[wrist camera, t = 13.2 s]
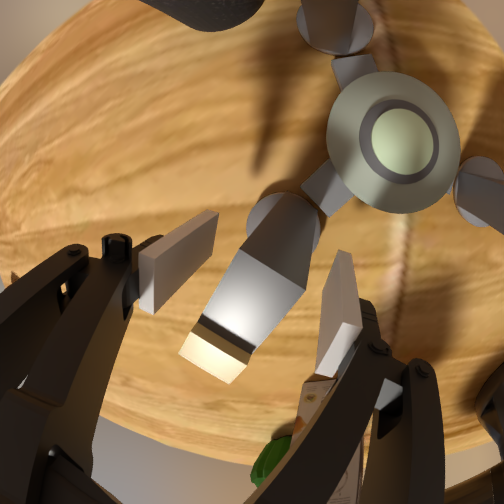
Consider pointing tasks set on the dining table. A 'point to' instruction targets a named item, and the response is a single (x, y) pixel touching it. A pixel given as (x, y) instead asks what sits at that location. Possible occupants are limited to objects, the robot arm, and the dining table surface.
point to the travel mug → (208, 12)
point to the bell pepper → (269, 459)
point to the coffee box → (351, 482)
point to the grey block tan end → (256, 285)
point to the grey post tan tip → (335, 26)
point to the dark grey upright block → (480, 192)
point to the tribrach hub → (385, 142)
